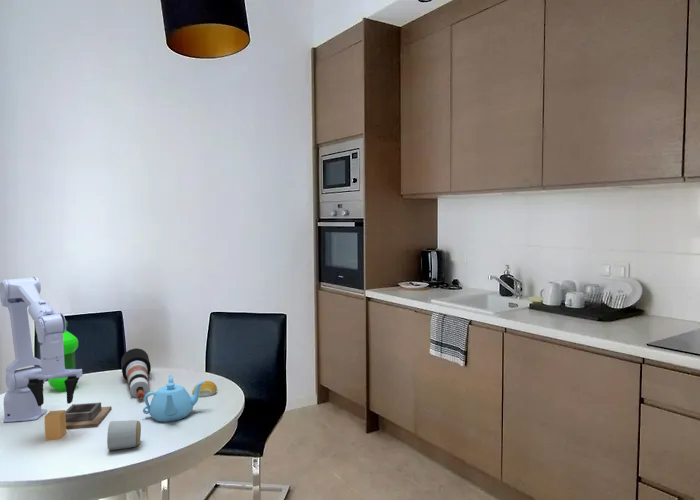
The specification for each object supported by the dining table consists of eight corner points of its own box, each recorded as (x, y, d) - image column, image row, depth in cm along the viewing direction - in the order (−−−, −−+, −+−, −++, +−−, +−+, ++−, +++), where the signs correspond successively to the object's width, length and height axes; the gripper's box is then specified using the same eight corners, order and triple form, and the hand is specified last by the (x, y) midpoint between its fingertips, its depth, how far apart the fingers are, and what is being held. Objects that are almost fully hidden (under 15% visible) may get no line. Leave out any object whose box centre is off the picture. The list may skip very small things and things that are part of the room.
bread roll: (217, 388, 184) (216, 377, 183) (216, 396, 175) (215, 385, 175) (193, 390, 182) (193, 379, 182) (191, 398, 173) (191, 387, 173)
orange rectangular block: (45, 440, 141) (44, 416, 141) (51, 434, 145) (50, 411, 145) (61, 439, 142) (59, 415, 141) (66, 433, 146) (65, 409, 145)
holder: (50, 430, 148) (49, 418, 148) (68, 412, 162) (68, 401, 161) (97, 426, 150) (96, 415, 150) (111, 409, 164) (111, 398, 163)
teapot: (136, 419, 155) (134, 387, 154) (173, 403, 168) (172, 373, 168) (170, 428, 148) (168, 394, 148) (206, 410, 162) (205, 379, 161)
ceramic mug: (139, 450, 134) (138, 423, 134) (107, 455, 132) (106, 427, 131) (142, 435, 144) (141, 410, 143) (112, 439, 141) (111, 414, 141)
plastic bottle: (50, 386, 187) (46, 320, 185) (81, 382, 191) (78, 318, 189) (45, 395, 178) (41, 325, 176) (79, 391, 182) (75, 323, 180)
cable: (134, 416, 169) (118, 393, 166) (129, 377, 200) (115, 357, 196) (162, 398, 173) (147, 376, 169) (153, 363, 203) (140, 343, 199)
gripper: (17, 362, 137) (21, 411, 138) (75, 358, 140) (77, 406, 140) (29, 356, 144) (32, 402, 145) (83, 352, 147) (86, 397, 147)
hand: (55, 403), depth 143 cm, fingers open, 7 cm apart
